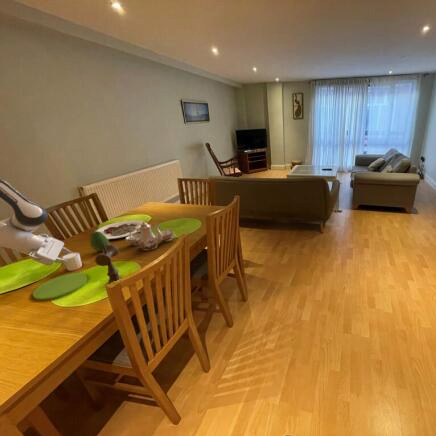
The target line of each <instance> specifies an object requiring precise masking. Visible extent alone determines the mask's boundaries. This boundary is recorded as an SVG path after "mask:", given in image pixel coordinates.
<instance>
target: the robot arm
mask: <svg viewBox="0 0 436 436" xmlns="http://www.w3.org/2000/svg"><path fill="white" fill-rule="evenodd" d="M0 200H1V201H2V202H3V203H4V204H5V205H7V206H8V207H10V208H11V210H12V212H13V215H12V216H10V217H7V218H4V219H2V220H0V247H2V248H6V249H12V250H14V251H16V252H18V253H21V254H25V255H26V256H29V258H31V259H32V260H33V261H35V262H37V263H39V264H42V265H45V266H48V267H49V266H53V265H54V264H63V265H65V264H67V263H68V261H69V260H67V259H61V257H59V255H60V253H63V254H65V255H66V254H69V253H73V250H70V249H68V248H67V247H65V243H64V241H62V240H60V239H57V238H54V237H53V236H49V235H48V234H46V233H41V234H34V232H36V230H38V229H39V227H41V225H42V224H44V223H45V222H46V221H47V220H48V218H49V213H48V211H47V209H45V207H44V206H42V205H40V204H37V203H36V202H34V201H31V200H30V199H29V198H27V197H26V196H25V195H23V194H22V193H21V192H20V191H18V190H17V189H16V188H15V187H14V186H12V185H11V184H10V183H8V182H7V181H6V180H4V179H3V178H2V177H0Z"/></svg>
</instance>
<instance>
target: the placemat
mask: <svg viewBox="0 0 436 436" xmlns="http://www.w3.org/2000/svg"><path fill="white" fill-rule="evenodd" d="M87 281H88V276H87V275H86V274H85V273H83V272H72V273H66V274H63V275H58V276H56V277H54V278H51V279H48V280H47V281H44V282H43V283H42V284H39V286H37V287H36V288H35V289H34V290H33V292H32V296H33V298H34V299H35V300H37V301H49V300H55V299H59V298H62V297H65V296H67V295H69V294H71V293H73V292H75V291H77V290H79V289H80V288H82V287H83V286H84V285H85V284H86V283H87Z"/></svg>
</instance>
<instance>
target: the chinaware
mask: <svg viewBox="0 0 436 436" xmlns="http://www.w3.org/2000/svg"><path fill="white" fill-rule="evenodd" d="M145 222H146V221H144V222H143V223H142V225H140V226H139V227H138V228H139V229H138V230H137V233H135V234H131V232H132V231H133V230H136V229H133V230H131V231H130V235H129V236H126V237H125V239H124V241H123V243H124V244H125V245H129V244H130V245H133V246H139V248H140V249H141V250H142V251H145V252H146V251H153V250H155V249H157V248H158V247H159V244H160V243H161V242H162V240H164V241H165V242H170V241H172V240H173V239H174V240H175V239H176V238H177V234H175V230H174V229H171V230H170V229H165V230H163V231H160V229H159V228H158V227H159V223H156V224H155V226H154V230H155V233H156V235H155V234H154V233H153V231H152V224H150V223H147V222H146V223H145ZM138 231H140V232H138ZM125 241H128V243H127V242H125Z"/></svg>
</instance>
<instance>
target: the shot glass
mask: <svg viewBox="0 0 436 436" xmlns="http://www.w3.org/2000/svg"><path fill="white" fill-rule="evenodd" d="M60 259H67V260H69V261H68V263H67V264H64V266H65V268H66V270H67V271H69V272H72V271H76V270H79V269H80V268H82V267H83V264H82V259H81V255H80V252H77V251H76V252H72V253H69V254H66V253H65V254H64V255H63V256H61V257H60Z"/></svg>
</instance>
